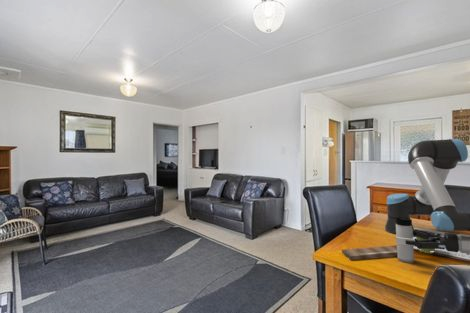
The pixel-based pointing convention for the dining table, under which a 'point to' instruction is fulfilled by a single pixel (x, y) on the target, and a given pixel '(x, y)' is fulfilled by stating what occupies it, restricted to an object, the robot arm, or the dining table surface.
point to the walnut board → (371, 252)
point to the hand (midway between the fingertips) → (396, 235)
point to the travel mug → (404, 231)
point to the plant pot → (425, 249)
